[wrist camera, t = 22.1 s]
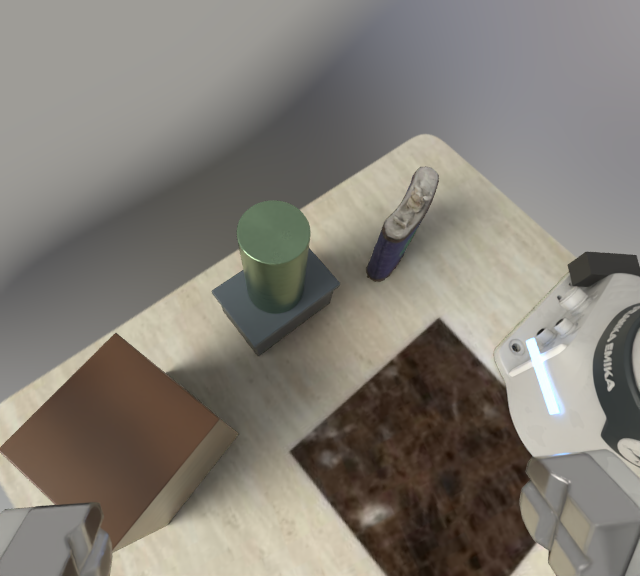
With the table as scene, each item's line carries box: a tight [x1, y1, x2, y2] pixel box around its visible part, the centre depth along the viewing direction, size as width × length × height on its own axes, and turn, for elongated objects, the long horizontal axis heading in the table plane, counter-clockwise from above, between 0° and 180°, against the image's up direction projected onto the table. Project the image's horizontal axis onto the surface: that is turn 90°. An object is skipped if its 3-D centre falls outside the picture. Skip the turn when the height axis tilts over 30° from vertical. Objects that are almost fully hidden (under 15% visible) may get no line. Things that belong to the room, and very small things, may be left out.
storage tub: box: [212, 248, 340, 356], centre depth 41 cm, size 10×6×5 cm
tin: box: [237, 201, 310, 314], centre depth 34 cm, size 5×5×10 cm
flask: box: [366, 167, 439, 282], centre depth 42 cm, size 9×3×11 cm, turn 150°
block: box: [0, 333, 239, 553], centre depth 32 cm, size 9×9×13 cm
